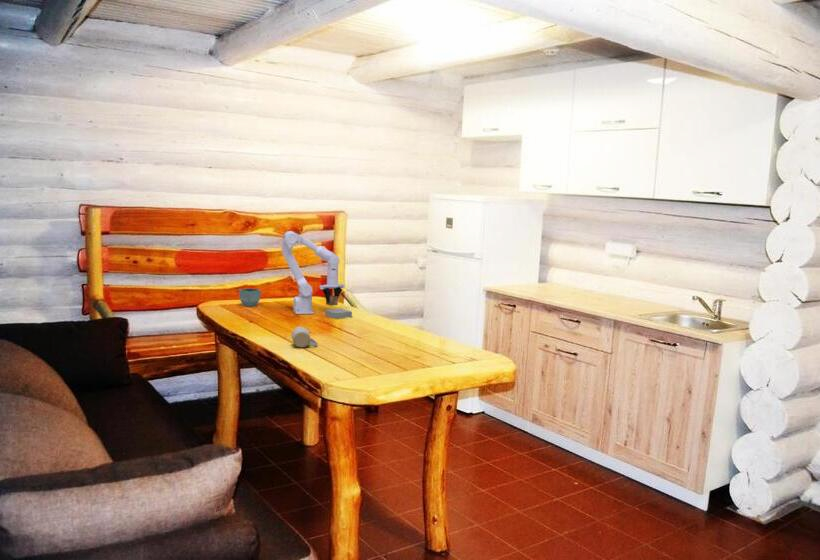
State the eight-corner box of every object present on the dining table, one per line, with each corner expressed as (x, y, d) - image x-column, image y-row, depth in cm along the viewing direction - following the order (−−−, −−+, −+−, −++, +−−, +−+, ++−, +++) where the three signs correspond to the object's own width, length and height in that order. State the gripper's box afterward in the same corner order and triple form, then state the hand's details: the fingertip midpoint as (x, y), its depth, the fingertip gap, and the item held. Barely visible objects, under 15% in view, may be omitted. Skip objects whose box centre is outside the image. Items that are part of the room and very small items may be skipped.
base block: (335, 319, 349) (335, 313, 348) (325, 315, 356) (325, 310, 356) (351, 317, 355) (351, 311, 355) (341, 314, 363) (341, 308, 362)
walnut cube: (330, 305, 363) (330, 297, 362) (326, 304, 366) (326, 295, 366) (337, 304, 366) (337, 296, 365) (333, 303, 369) (333, 295, 369)
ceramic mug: (292, 348, 283) (293, 330, 282) (291, 344, 291) (291, 326, 290) (318, 348, 286) (319, 330, 285) (316, 344, 294) (316, 326, 293)
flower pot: (261, 305, 378) (261, 289, 376) (249, 307, 370) (250, 291, 369) (250, 303, 382) (250, 288, 381) (238, 305, 375) (238, 289, 374)
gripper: (324, 278, 356) (324, 304, 358) (348, 277, 365) (347, 302, 367) (317, 276, 362) (317, 301, 364) (340, 275, 371) (340, 300, 373)
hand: (331, 301), depth 366 cm, fingers closed on walnut cube, 4 cm apart
